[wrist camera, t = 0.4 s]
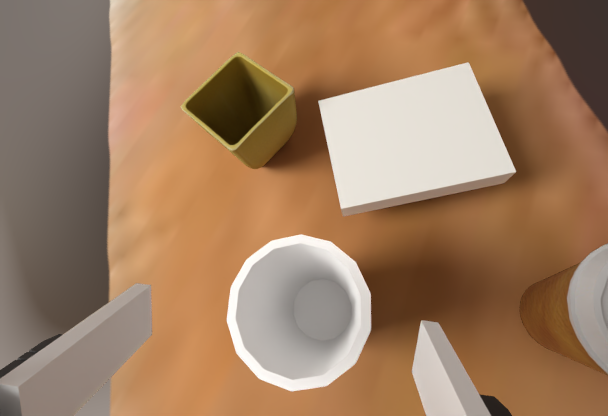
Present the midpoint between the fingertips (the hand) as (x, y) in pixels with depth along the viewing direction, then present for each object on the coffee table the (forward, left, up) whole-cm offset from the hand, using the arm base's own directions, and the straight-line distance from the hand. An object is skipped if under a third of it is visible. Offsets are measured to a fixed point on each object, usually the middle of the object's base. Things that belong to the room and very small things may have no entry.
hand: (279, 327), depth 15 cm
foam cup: (+1, 0, -18) cm, 18 cm away
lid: (+15, -11, -14) cm, 23 cm away
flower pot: (+22, +4, -18) cm, 29 cm away
